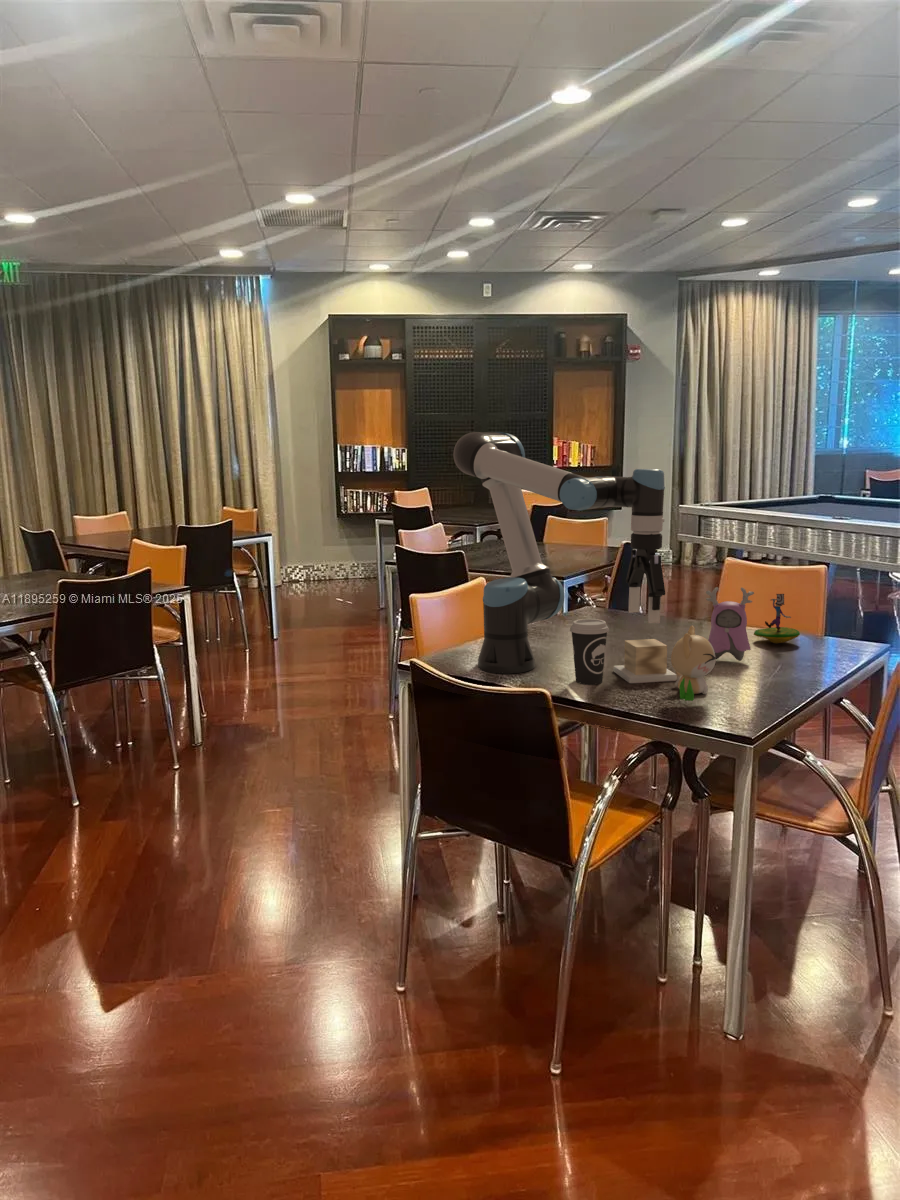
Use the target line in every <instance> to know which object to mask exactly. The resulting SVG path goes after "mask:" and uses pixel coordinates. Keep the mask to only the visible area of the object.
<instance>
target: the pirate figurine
mask: <svg viewBox="0 0 900 1200" xmlns="http://www.w3.org/2000/svg"><path fill="white" fill-rule="evenodd" d="M775 595H776V598H771V599H770V601H772V606H773V607H772V608H773V609H774V610H775V611H776V612H775V615H776V616H775V618H774V619H773V620H771V622H770V623H769V622H768V621H764V625H766V626H767V627H766V628H759V629H756V630H755V631H754V632H753V636H755V637H758V638H759V637H760V638H764V639H766V640H768V641H769V642H770V643H773V644H783V643H787V642H791V641H792V640H794V639H796V638H798V637H799V636H801V633H800V631H799V630H798V629H796V628H792V627H791V628H790V627H785V626H784V627H783V626H781V625H780V624H781V616H783V618H785V619H788V618H790V619H791V618H792V616H788V615H785V614H784V613H783V611H782V609H781V607H783V606H784V605H785V593H776V594H775ZM773 626H775V627H773Z"/></svg>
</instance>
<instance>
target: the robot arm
mask: <svg viewBox="0 0 900 1200" xmlns="http://www.w3.org/2000/svg"><path fill="white" fill-rule="evenodd" d="M453 460H454V464H455V466H456V468H458V469H459V471H460V472H461V473H464V474H465V475H468V476H472V477H475V478H477V479H480V481H481V484H482V487H484V488H486V489H487V490H488V491H489V492H490V496H491V500H492V504H493V506H494V511H495V515H496V517H497V521H498V522H497V523H498V525H499V528H500V532H501V535H502V540H503V542H504V546H505V550H506V553H507V557H508V560H509V561H508V562H509V564H510V568H511V574H510V576H509V577H503V578H497V579H493V580H491V581H489V582H487V583H486V584H485V585H484V587H483V597H482V603H483V604H482V605H483V606H482V607H483V609H482V610H483V635H484V637H483V642H482V645H481V649H480V652H479V654H478V658H477V668H478V669H479V670H480V671H482V672H487V673H493V674H507V675H508V674H520V673H525V672H529V671H532V670H533V669H535V665H536V664H535V663H536V662H535V656H534V653H533V649H532V647H531V644H530V641H529V634H528V633H529V631H528V630H529V628H528V625H529V624H532V623H536V622H539V621H541V622H542V621H545V620H548V619H550V618H553V617H555V616H556V615H558V614H559V612H560V611H561V610H562V608H563V606H564V603H565V590H564V586H563V585H562V583H561V581H560V580H558V579H557V578H556V577H554V576H552V572H551V569H550V566H548V565H545V564H544V563H543V562H542V558H541V555H540V551H539V548H538V547H539V546H538V543H537V541H536V536H535V533H534V529H533V526H532V522H531V520H530V515H529V512H528V509H527V505H526V501H525V497H524V494H523V490H525V491H528V492H530V493H531V492H532V493H533V494H536V495H539V496H542V497H544V498H545V497H546V498H548V499H550V500H554V501H556V502H560V503H561V504H562V505H563V506H564V507H565V508H566V509H568V510H570V511H571V510H572V511H573V510H574V511H579V512H580V511H585V510H592V509H602V508H631V516H630V517H631V518H630V530H631V532H632V533H631V534H630V548H631V551H630V552H631V554H630V560H629V565H628V570H627V574H626V578H625V582H626V584H627V585H628V587H629V588H628V611H627V612H628V613H630V614H632V613H640V608H641V607H640V606H641V587H642V583H641V581H642V578H643V575H644V574H645V578H646V580H647V585H648V590H649V593H648V595H647V597H648V610H647V611H648V612H647V623H648V624H660V623H661V601H662V600H661V599H662V597H663V596H665V595H666V588H665V587H666V586H665V580H664V574H663V573H664V572H663V567H662V566H663V565H662V555H661V554H656V551H657V550H661V549H662V548H663V534H662V531H663V525H664V524H663V523H664V522H665V519H664V499H665V497H664V495H665V489H666V486H665V472H664V470H662V469H659V468H636V469H634V470H633V471H632V475H631V476H609V475H600V476H593V477H586V476H582V475H579V474H576V473H573V472H570V471H567V470H564V469H560V468H558V467H554V466H552V465H548V464H545V463H541V462H539V461H535V460H532V459H530V458H526V454H525V448H524V446H523V444H522V442H521V441H520V440H519V439H518V437H517V436H515V435H513V434H511V433H506V432H502V431H495V432H490V431H489V432H486V431H485V432H482V431H480V432H479V431H473V432H469V433H466V434H464V435H462V436H461V437H460V438H459V439H458V440H457V442H456V443H455V446H454V448H453Z"/></svg>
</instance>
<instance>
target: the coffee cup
mask: <svg viewBox="0 0 900 1200" xmlns="http://www.w3.org/2000/svg"><path fill="white" fill-rule="evenodd" d="M569 631H570V632H571V639H572V640H571V641H572V650H573V651H572V652H573V653H572V654H573V662H574V663H573V664H574V665H573V666H574V674H575V683H577V684H580V685H586V686H588V685H590V686H592V685H593V686H594V685H599V684H602V683H603V679H604V670H605V669H604V668H605V659H606V658H605V657H606V656H605V655H606V645H607V638H608V637H607V636H608V632H610V628H609V627H608V625H607V622H606V621H605V620H603V619H597V618H581V619H575V620H573V621H572V624H571V625H570V627H569Z"/></svg>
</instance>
